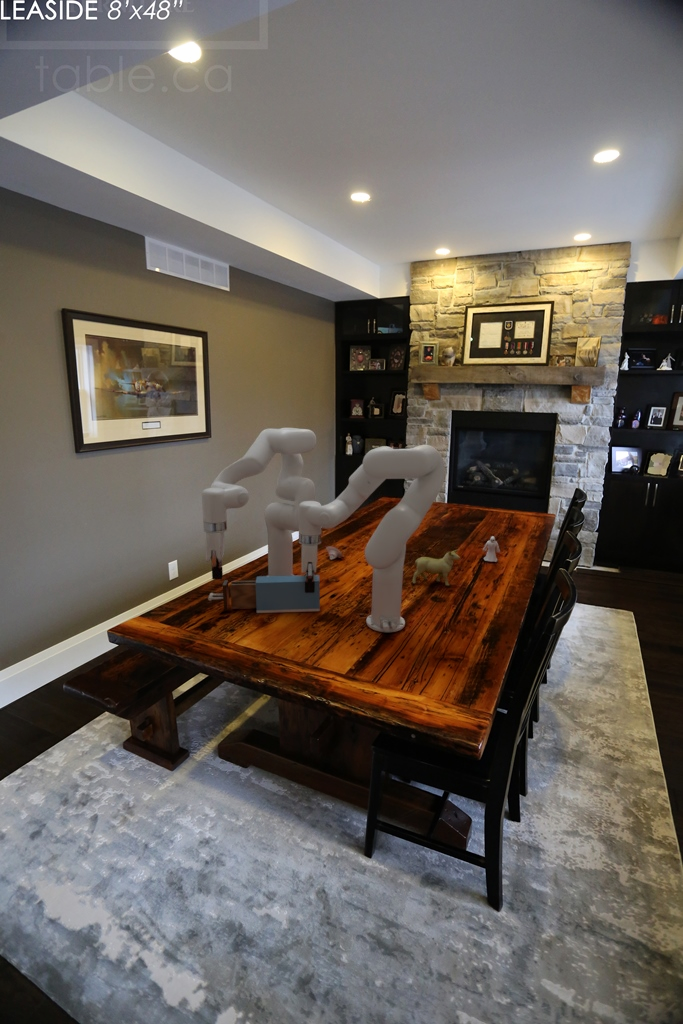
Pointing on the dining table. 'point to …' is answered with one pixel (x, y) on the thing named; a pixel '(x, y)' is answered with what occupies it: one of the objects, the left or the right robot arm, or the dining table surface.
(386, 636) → the dining table surface
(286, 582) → the blue slab
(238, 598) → the drawer
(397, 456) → the right robot arm
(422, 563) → the toy
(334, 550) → the white lid
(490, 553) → the figurine
